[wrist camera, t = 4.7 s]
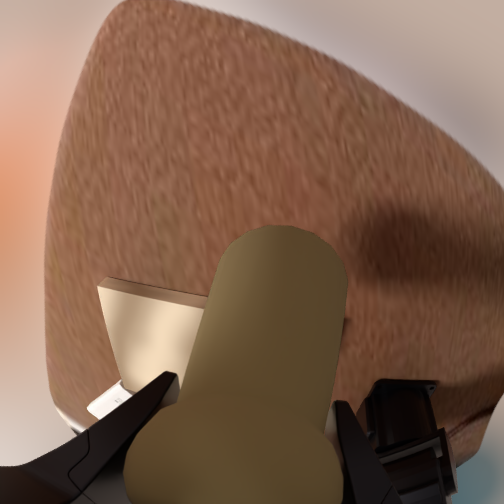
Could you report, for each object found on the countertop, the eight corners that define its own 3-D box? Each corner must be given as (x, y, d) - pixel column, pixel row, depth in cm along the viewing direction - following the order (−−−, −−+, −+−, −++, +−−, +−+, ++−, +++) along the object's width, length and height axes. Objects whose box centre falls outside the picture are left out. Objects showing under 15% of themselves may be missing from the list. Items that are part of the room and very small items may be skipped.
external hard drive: (91, 401, 36) (124, 375, 31) (136, 434, 37) (180, 416, 32) (85, 409, 34) (117, 385, 29) (132, 442, 36) (176, 426, 31)
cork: (351, 333, 14) (350, 565, 5) (234, 341, 16) (158, 540, 6) (341, 215, 12) (373, 527, 2) (200, 235, 14) (32, 453, 4)
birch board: (329, 315, 22) (330, 328, 21) (298, 415, 28) (297, 426, 26) (106, 276, 24) (97, 286, 23) (130, 378, 30) (124, 388, 28)
